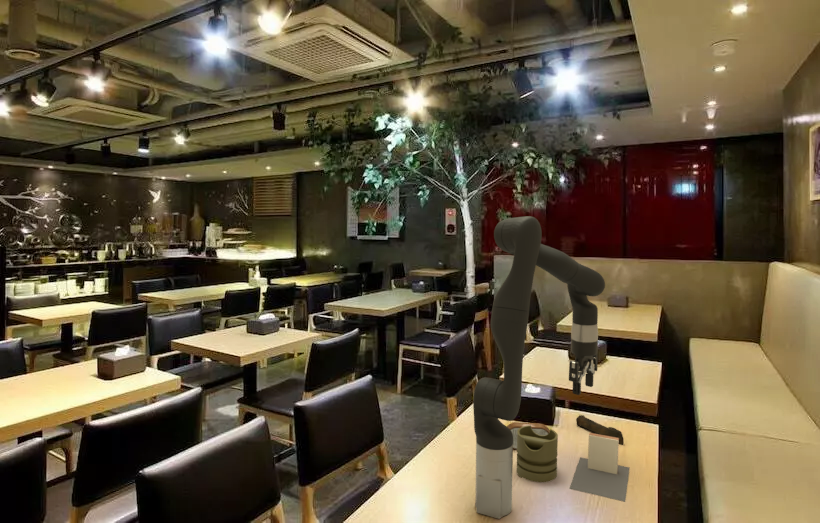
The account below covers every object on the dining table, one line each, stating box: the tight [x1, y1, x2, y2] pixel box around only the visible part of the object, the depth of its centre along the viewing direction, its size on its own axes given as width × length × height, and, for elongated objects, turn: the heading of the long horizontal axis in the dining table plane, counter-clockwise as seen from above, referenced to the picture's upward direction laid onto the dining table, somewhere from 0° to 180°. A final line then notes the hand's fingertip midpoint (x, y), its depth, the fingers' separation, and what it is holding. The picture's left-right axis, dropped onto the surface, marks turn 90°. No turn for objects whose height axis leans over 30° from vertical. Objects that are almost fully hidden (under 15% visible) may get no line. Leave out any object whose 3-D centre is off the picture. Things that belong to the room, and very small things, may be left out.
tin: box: [506, 421, 550, 451], centre depth 158 cm, size 15×3×8 cm, turn 84°
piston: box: [516, 425, 559, 483], centre depth 143 cm, size 11×12×11 cm
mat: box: [569, 456, 631, 503], centre depth 140 cm, size 20×14×1 cm
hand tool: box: [575, 414, 625, 446], centre depth 168 cm, size 19×4×5 cm, turn 24°
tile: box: [587, 432, 620, 474], centre depth 144 cm, size 2×8×10 cm, turn 63°
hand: (583, 390), depth 149 cm, fingers open, 8 cm apart
